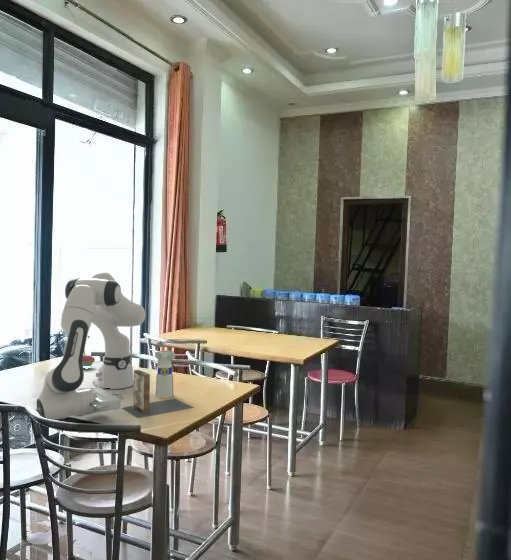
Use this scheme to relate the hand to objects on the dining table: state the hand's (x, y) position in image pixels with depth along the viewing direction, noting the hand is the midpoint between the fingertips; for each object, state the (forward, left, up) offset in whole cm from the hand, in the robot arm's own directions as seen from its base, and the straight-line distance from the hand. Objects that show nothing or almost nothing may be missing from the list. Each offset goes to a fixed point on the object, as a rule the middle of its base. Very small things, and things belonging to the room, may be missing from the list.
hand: (122, 395), depth 183 cm
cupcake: (-90, +17, -8) cm, 91 cm away
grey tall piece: (-15, +26, -8) cm, 31 cm away
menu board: (0, +8, -7) cm, 10 cm away
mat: (0, +15, -7) cm, 16 cm away
